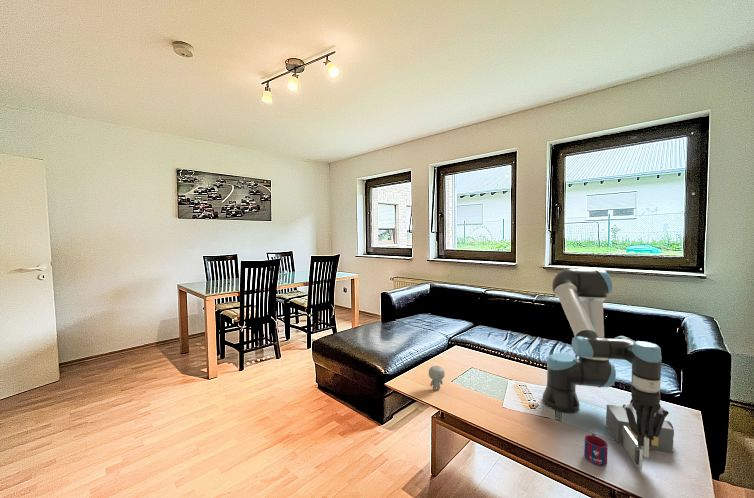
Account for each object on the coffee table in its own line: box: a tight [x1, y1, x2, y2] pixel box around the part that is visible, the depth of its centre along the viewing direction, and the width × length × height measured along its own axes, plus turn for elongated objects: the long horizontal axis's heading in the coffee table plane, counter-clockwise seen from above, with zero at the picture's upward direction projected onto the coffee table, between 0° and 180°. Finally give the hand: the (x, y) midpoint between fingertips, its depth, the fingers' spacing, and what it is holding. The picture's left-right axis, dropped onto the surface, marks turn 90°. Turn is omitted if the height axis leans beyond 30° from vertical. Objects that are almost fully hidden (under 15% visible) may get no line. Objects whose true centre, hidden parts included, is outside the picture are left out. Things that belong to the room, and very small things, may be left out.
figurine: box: [428, 365, 446, 391], centre depth 161 cm, size 8×8×12 cm
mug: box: [583, 433, 609, 467], centre depth 113 cm, size 7×10×7 cm
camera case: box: [605, 404, 675, 454], centre depth 122 cm, size 19×12×10 cm, turn 71°
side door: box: [621, 425, 643, 471], centre depth 112 cm, size 14×2×8 cm, turn 161°
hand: (644, 454), depth 107 cm, fingers closed
